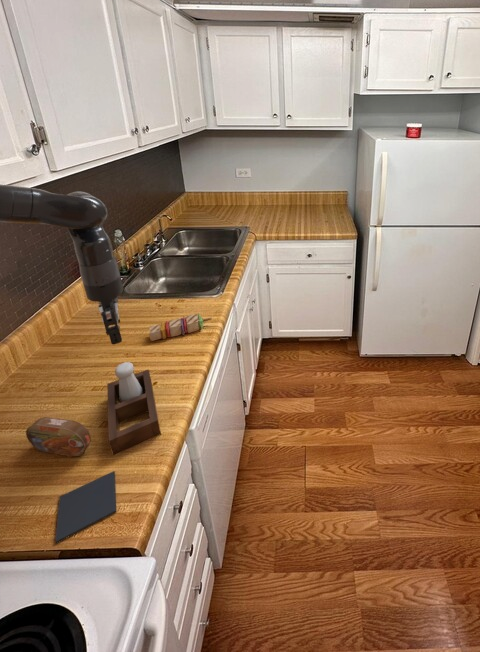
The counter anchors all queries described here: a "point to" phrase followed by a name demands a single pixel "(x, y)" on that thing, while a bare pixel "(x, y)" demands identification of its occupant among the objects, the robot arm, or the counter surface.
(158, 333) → the skewer
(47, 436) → the tin
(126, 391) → the salt shaker
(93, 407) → the counter surface
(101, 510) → the mat
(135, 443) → the rack
